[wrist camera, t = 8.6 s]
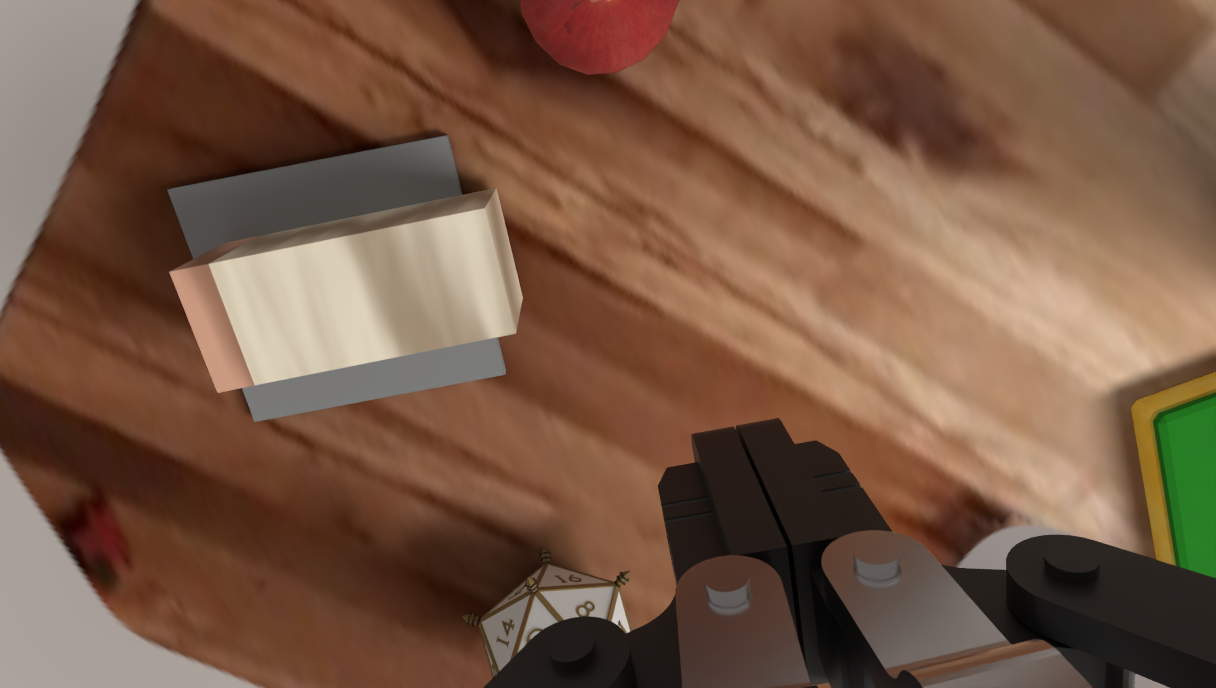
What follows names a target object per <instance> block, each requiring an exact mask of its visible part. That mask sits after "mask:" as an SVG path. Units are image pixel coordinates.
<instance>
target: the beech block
mask: <svg viewBox="0 0 1216 688" xmlns="http://www.w3.org/2000/svg"><path fill="white" fill-rule="evenodd" d="M169 273H170V275H171V278H172V280H173V283H174V285H175V288H176V290H177V293H178V295H179V298H180V300H181V303H182V305H183V308H184V310H185V313H186V315H187V318H188V320H189V323H190V325H191V328H192V330H193V333H194V335H195V338H196V340H197V343H198V345H199V348H200V350H201V353H202V355H203V358H204V360H205V363H206V365H207V368H208V370H209V373H210V375H211V378H212V380H213V383H214V385H215V388H216V390H217V393H219V392H224V391H229V390H234V389H239V388H244V387H249V386H254V385H259V384H264V383H269V382H274V381H280V380H285V379H290V378H295V377H300V376H305V375H310V374H315V373H320V372H325V371H330V370H335V369H340V368H345V367H350V366H355V365H360V364H365V363H370V362H375V361H380V360H385V359H390V358H395V357H400V356H405V355H410V354H415V353H420V352H426V351H431V350H436V349H441V348H446V347H451V346H456V345H461V344H466V343H471V342H476V341H481V340H486V339H491V338H496V337H501V336H506V335H511V334H516V330H517V325H518V320H519V314H520V309H521V304H522V299H523V297H522V292H521V288H520V284H519V280H518V276H517V272H516V267H515V263H514V259H513V255H512V251H511V247H510V242H509V238H508V234H507V230H506V226H505V222H504V217H503V213H502V209H501V205H500V201H499V197H498V192H497V188H494V189H489V190H484V191H479V192H474V193H469V194H464V195H459V196H454V197H449V198H444V199H439V200H434V201H429V202H424V203H419V204H414V205H410V206H405V207H400V208H395V209H390V210H385V211H380V212H375V213H370V214H365V215H360V216H355V217H350V218H345V219H340V220H335V221H330V222H325V223H321V224H316V225H311V226H306V227H301V228H296V229H291V230H286V231H281V232H276V233H271V234H266V235H261V236H256V237H251V238H246V239H241V240H236V241H231V242H227V243H224V244H222V245H220V246H218V247H216V248H214V249H212V250H210V251H208V252H206V253H204V254H202V255H201V256H199V257H197V258H195V259H193V260H191V261H189V262H187V263H185V264H183V265H181V266H179V267H178V268H176V269H174V270H172V271H170V272H169Z"/></svg>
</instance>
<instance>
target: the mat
mask: <svg viewBox="0 0 1216 688" xmlns="http://www.w3.org/2000/svg"><path fill="white" fill-rule="evenodd" d="M167 191H168V193H169V196H170V199H171V201H172V204H173V207H174V209H175V212H176V215H177V217H178V220H179V223H180V225H181V228H182V230H183V233H184V236H185V238H186V241H187V244H188V246H189V249H190V252H191V254H192V257H193V259H195V258H197V257H199V256H201V255H202V254H204V253H206V252H208V251H210V250H212V249H214V248H216V247H218V246H220V245H222V244H224V243H227V242H231V241H236V240H241V239H246V238H251V237H256V236H261V235H266V234H271V233H276V232H281V231H286V230H291V229H296V228H301V227H306V226H311V225H316V224H321V223H325V222H330V221H335V220H340V219H345V218H350V217H355V216H360V215H365V214H370V213H375V212H380V211H385V210H390V209H395V208H400V207H405V206H410V205H414V204H419V203H424V202H429V201H434V200H439V199H444V198H449V197H454V196H459V195H463V194H462V190H461V186H460V182H459V178H458V173H457V169H456V165H455V161H454V157H453V153H452V149H451V145H450V141H449V137H448V135H444V136H439V137H434V138H429V139H423V140H418V141H413V142H408V143H403V144H398V145H392V146H387V147H382V148H377V149H372V150H367V151H361V152H356V153H351V154H346V155H341V156H335V157H330V158H325V159H320V160H315V161H310V162H304V163H299V164H294V165H289V166H284V167H279V168H273V169H268V170H263V171H258V172H253V173H248V174H242V175H237V176H232V177H227V178H222V179H217V180H211V181H206V182H201V183H196V184H191V185H186V186H180V187H175V188H171V189H168V190H167ZM505 373H506V369H505V364H504V360H503V356H502V352H501V348H500V344H499V340H498V337H496V338H491V339H486V340H481V341H476V342H471V343H466V344H461V345H456V346H451V347H446V348H441V349H436V350H431V351H426V352H420V353H415V354H410V355H405V356H400V357H395V358H390V359H385V360H380V361H375V362H370V363H365V364H360V365H355V366H350V367H345V368H340V369H335V370H330V371H325V372H320V373H315V374H310V375H305V376H300V377H295V378H290V379H285V380H280V381H274V382H269V383H264V384H259V385H254V386H249V387H244V388H242V390H243V392H244V395H245V398H246V400H247V403H248V406H249V408H250V411H251V414H252V416H253V419H254V422H256V421H262V420H267V419H272V418H277V417H283V416H288V415H293V414H299V413H304V412H309V411H315V410H320V409H325V408H331V407H336V406H341V405H346V404H352V403H357V402H362V401H368V400H373V399H378V398H384V397H389V396H394V395H399V394H405V393H410V392H415V391H421V390H426V389H431V388H437V387H442V386H447V385H453V384H458V383H463V382H468V381H474V380H479V379H484V378H490V377H495V376H500V375H505Z"/></svg>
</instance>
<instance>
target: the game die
mask: <svg viewBox="0 0 1216 688" xmlns="http://www.w3.org/2000/svg"><path fill="white" fill-rule="evenodd" d="M550 554H551V553H549V552H548V551H547V550H546V549H545V548H544V547H543V550H542V553H540V557H541V561H542V562H543V565H542V566H541V567H540V568H539V569H538V570H536V571H535V572H534V573H533V574H532V575H531V576H529V577H528V578H527V579H526V580H525V581H524V582H522V583H521V584H520V585H519V586H518V587H517V588H515V589H514V590H513V591H512V592H511V593H510V594H508V595H507V596H506V597H505V598H504V599H502V600H501V601H500V602H499V603H498V604H497V605H495V606H494V607H493V608H492V609H491V610H490V611H488V612H487V613H486V614H485V615H484V616H483V617H481V618H479V617H477V616H476V614H475V615H473V614H472V613H470V614H467V615H464V616H462V617H463V619H464V620H465V621H466V622H467V625H468V624H472V626H473V625H478V626H479V629H480V632H481V636H482V639H483V643H484V647H485V650H486V654H487V657H488V661H489V665H490V668H491V672H492V675H493V678H494V676H495V675H496V674H497V673H498V672H499V671H500V670H501V669H502V668H503V667H504V666H505V665H506V664H507V663H508V662H509V661H510V660H511V659H512V658H513V657H514V656H515V655H516V654H517V653H518V652H519V651H520V650H521V649H522V648H523V647H524V646H525V645H526V644H527V643H528V642H529V641H530V640H531V639H532V638H533V637H534V636H535V635H536V634H538V633H539V632H540V631H542V630H543V629H545V628H546V627H548V626H550V625H552V624H554V623H557V622H559V621H562V620H565V619H569V618H574V617H582V616H591V617H599V618H603V619H607V620H609V621H611V622H613V623H615V624H616V625H618V626H619V627H620V628H621V629H622V630H623V631H624V632H625V634H626V633H628V632H630V631H632V628H631V625H630V621H629V618H628V614H627V611H626V607H625V604H624V600H623V597H622V593H621V590H620V586H621V585H623V584H624V585H625V583H626V582H627V581H629V574H630V571H626V572H620V575H619V576H617V579H616V581H615V582H612V581H609V580H605V579H602V578H598V577H595V576H592V575H588V574H585V573H581V572H578V571H574V570H571V569H567V568H564V567H560V566H557V565H553V564H550V559H551V557H550Z"/></svg>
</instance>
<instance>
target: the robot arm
mask: <svg viewBox="0 0 1216 688" xmlns="http://www.w3.org/2000/svg"><path fill="white" fill-rule="evenodd" d="M691 438H692V446H693V453H694V459H695V463H690V464H685V465H679V466H674V467H668V468H667V469H666V471H665V473H664V475H663V477H662V479H661V481H660V483H659V485H658V489H659V495H660V500H661V506H662V511H663V517H664V522H665V528H666V533H667V539H668V544H669V550H670V555H671V560H672V566H673V571H674V576H675V581H676V592H675V596H674V599H673V600H672V602H671V604H670V605H669V606H668V608H667V609H666V610H665V611H664V612H663V613H662V614H661V615H659V616H658V617H657V618H655V619H654V620H652V621H651V622H649V623H647V624H646V625H644V626H642V627H640V628H637V629H635V630H633V631H630V632H628V633H626V634H625V632H624V631H623V630H622V629H621V628H620V627H619V626H618V625H616V624H615V623H613V622H611V621H609V620H607V619H603V618H599V617H591V616H582V617H574V618H569V619H565V620H562V621H559V622H557V623H554V624H552V625H550V626H548V627H546V628H545V629H543V630H542V631H540V632H539V633H538V634H536V635H535V636H534V637H533V638H532V639H531V640H530V641H529V642H528V643H527V644H526V645H525V646H524V647H523V648H522V649H521V650H520V651H519V652H518V653H517V654H516V655H515V656H514V657H513V658H512V659H511V660H510V661H509V662H508V663H507V664H506V665H505V666H504V667H503V668H502V669H501V670H500V671H499V672H498V673H497V674H496V675H495V676H494V678H493V679H492V680H491V681H490V682H489V683H488V684H487V685H486V686H485V687H484V688H818V687H817V686H812V685H817V684H823V683H830V686H831V688H1134V685H1135V673H1136V674H1138V675H1141V676H1143V677H1146V678H1148V679H1151V680H1153V681H1155V682H1158V683H1160V684H1163V685H1165V686H1167V687H1170V688H1216V578H1214V577H1210V576H1207V575H1204V574H1201V573H1197V572H1194V571H1191V570H1188V569H1185V568H1181V567H1178V566H1175V565H1172V564H1168V563H1165V562H1162V561H1159V560H1155V559H1152V558H1149V557H1146V556H1143V555H1139V554H1136V553H1133V552H1130V551H1126V550H1123V549H1120V548H1117V547H1114V546H1110V545H1107V544H1104V543H1101V542H1097V541H1094V540H1090V539H1087V538H1082V537H1077V536H1070V535H1043V536H1037V537H1033V538H1029V539H1027V540H1024V541H1022V542H1020V543H1018V544H1016V545H1015V546H1014V547H1013V548H1012V549H1011V550H1010V552H1009V553H1008V555H1007V559H1006V570H992V569H966V568H956V567H950V566H945V565H941V564H940V563H939V562H938V561H937V560H936V559H935V557H934V556H933V555H932V554H931V553H930V552H929V551H928V550H927V549H926V548H925V547H924V546H923V545H922V544H920V543H919V542H918V541H916V540H914V539H912V538H910V537H908V536H905V535H902V534H899V533H894V532H892V530H891V529H890V527H889V526H888V524H887V523H886V522H885V520H884V519H883V517H882V516H881V514H880V513H879V511H878V510H877V508H876V507H875V505H874V504H873V503H872V501H871V500H870V498H869V497H868V495H867V494H866V492H865V491H864V489H863V488H861V487H860V484H859V482H858V481H857V479H856V478H855V476H854V475H853V473H851V472H850V469H849V467H848V466H847V465H846V463H845V462H844V460H843V459H842V457H841V456H840V454H839V453H838V452H836V451H834V450H832V449H831V448H829V447H827V446H825V445H823V444H822V443H820V442H818V441H810V442H805V443H799V444H794V442H793V441H792V439H791V437H790V436H789V434H788V432H787V430H786V429H785V427H784V425H783V424H782V422H781V420H780V419H779V418H776V419H770V420H765V421H759V422H754V423H749V424H743V425H738V426H736V430H735V428H734V427H727V428H722V429H716V430H711V431H706V432H700V433H695V434H691Z"/></svg>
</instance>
